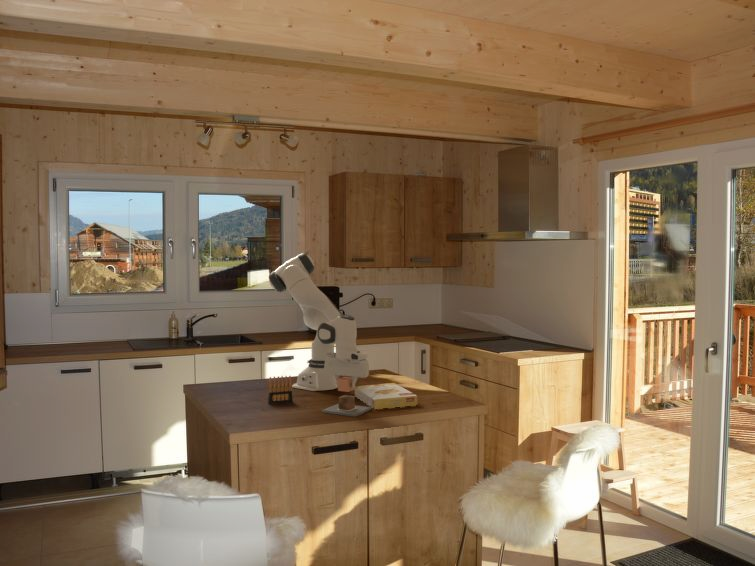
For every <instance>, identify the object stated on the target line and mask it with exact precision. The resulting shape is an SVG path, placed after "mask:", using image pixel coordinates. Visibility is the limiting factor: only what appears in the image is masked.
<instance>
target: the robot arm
mask: <svg viewBox="0 0 755 566" xmlns="http://www.w3.org/2000/svg"><path fill="white" fill-rule="evenodd" d="M315 268H316V267H315V263H314V260H313V259H312V257H310V256H309V255H308V254H307V253H305V252H302V253H300V254H297V255H296V256H294V257H292V258H289V259H288V260H287V261H285V262H284V263H282V265H280V266H278V267H277V268H276V269H275V270H273V271H272V272H270V273H269V275H268V280H269V284H270V287H271V288H272V289H274V290H275V291H276V292H278V293H282V292H285V291H288V292H289V294H290V296H291V297H292V298H293V300H294V301H295V302H296V303H297V304H298V306H299V308H300V309H301V311H302V314H303V317H302V318H303V322H304V325H305V326H306V327H308V328H309V329H310V330H314V331H316V333H315V338H314V340H313V341H312V342H311V358H310V359H309V360H307V361H306V364H308V365H307V367H305V369H303V370H302V371H301V372H300V373H298V374H297V379H296V383H292V389H294V388H295V389H301V390H305V391H311V392H317V391H318V392H319V391H329V390H335V389H338V379H339V378H341V376H342V377H350V378H352V379H354V380H353V382H352V383H350V387H355V386H356V383H357V381H358V379H359V378H360V379H361V378H362V379H365V378H368V376H369V375H370V366H369V361H368V359H367V358H368V354H367V352H364V351H362V350H360V349H358V346H357V337H358V336H357V334H358V331H357V329H358V328H357V322H356V319H355V317H354V316H352V315H348V314H343V313H342V312H341V311H340V309H338V307H337V306H336V304H335V303H334V302H333V301H332V300H331V298H329V297H328V295H326V294H325V293H324V292H323V291H322V290H320V289H319V288H318V287H317V286H316V284H315V283H314V281H312V279H311V278H310V276H309V275H311V274H312V273H313V272H314V271H315Z"/></svg>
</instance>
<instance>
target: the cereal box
mask: <svg viewBox="0 0 755 566" xmlns="http://www.w3.org/2000/svg"><path fill="white" fill-rule="evenodd" d="M353 391H354V396H355V398H356V397H357V398H356V399H358V400H359V399H360V401H361V402H362V401H363V402H362V403H364V404H365V403H366V405H367V406H368V407H370V406H371V409H373V408H374V409H373V410H375V409H377V410H384V409H383V408H388V409H396V408H395V407H400V408H406V407H405V406H411V407H417V406H418V395H417V394H416V393H413V392H412V391H410V390H408V389H406V388H404V387H402V386H400V385H398V384H397V383H396V382H387V383H386V382H385V383H375V384H366V385H357V386H356V385H355V387H354V390H353ZM416 405H417V406H416Z"/></svg>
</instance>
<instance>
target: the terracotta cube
mask: <svg viewBox="0 0 755 566" xmlns="http://www.w3.org/2000/svg"><path fill="white" fill-rule="evenodd" d="M353 380H354V379H352V377H350V376H342V377H339V379H338V386H337V391H338V392H345V393H349V392H352V391H354V387H350V383H352V382H353Z"/></svg>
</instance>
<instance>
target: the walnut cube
mask: <svg viewBox="0 0 755 566" xmlns="http://www.w3.org/2000/svg"><path fill="white" fill-rule="evenodd" d="M338 403H339V409H342V410H351V409H353V408H355V405H356V397H355V395H348V394H344V395H341V396H338Z"/></svg>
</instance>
